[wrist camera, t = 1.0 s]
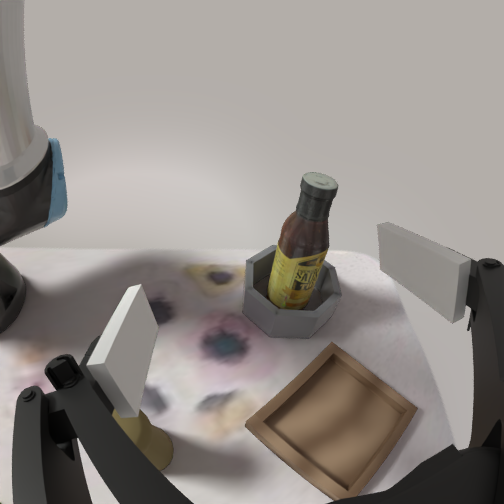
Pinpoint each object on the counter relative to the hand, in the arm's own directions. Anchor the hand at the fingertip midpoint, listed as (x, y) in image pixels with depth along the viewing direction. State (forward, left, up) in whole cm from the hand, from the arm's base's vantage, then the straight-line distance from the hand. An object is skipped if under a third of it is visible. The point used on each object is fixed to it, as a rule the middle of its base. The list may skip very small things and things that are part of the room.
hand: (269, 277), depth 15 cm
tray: (+9, +6, -23) cm, 25 cm away
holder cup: (-8, +16, -23) cm, 29 cm away
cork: (-3, -12, -23) cm, 26 cm away
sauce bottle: (-8, +16, -23) cm, 29 cm away
